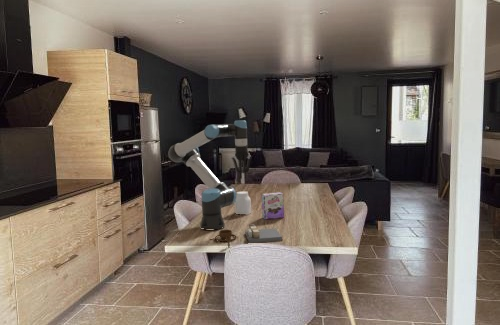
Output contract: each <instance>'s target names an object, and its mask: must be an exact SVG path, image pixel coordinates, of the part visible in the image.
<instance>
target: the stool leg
mask: <svg viewBox="0 0 500 325" xmlns="http://www.w3.org/2000/svg"><path fill="white" fill-rule="evenodd" d="M248 227H249V228H248V229H251V231H252V235H253V237H254V238H258V237H260V232H259V229H258V227H257V226H256V225H255V224H254V223H253V224H249V226H248Z"/></svg>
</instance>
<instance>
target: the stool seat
mask: <svg viewBox="0 0 500 325" xmlns="http://www.w3.org/2000/svg"><path fill="white" fill-rule="evenodd" d="M258 230H259V232H260V237H258V238H254V237H253V235H252V231H251V229H250V228H248V229H247V230H244V234H246V235H245V237H246V239H247V241H248V243H249V244H254V243H253V242H255V243H266V242H278V241H279V242H281V241H283V236H282V234H281V233H280V232H279V231H278V229H277V227H276V228H274V227H271V228H261V229H260V228H259V229H258Z"/></svg>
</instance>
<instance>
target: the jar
mask: <svg viewBox="0 0 500 325" xmlns="http://www.w3.org/2000/svg"><path fill="white" fill-rule="evenodd" d="M251 199H252V198H251V197H250V196H249V192H248V191H237V192H236V201H235V202H234V214H235V213H236V214H249V215H251V214H252V206H251V205H252V200H251ZM250 213H251V214H250ZM236 214H235V215H236Z"/></svg>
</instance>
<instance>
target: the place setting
mask: <svg viewBox="0 0 500 325" xmlns="http://www.w3.org/2000/svg"><path fill="white" fill-rule="evenodd" d="M218 233H219V234H218V235H215V236H214V237H215V238H214V239H216V237H217V236H220V237H219V238H220V239H219V238H217V239H216V240H218V241H227V242H226V243H227V248H231V244H230V243H231V242H233V241H232V240H234V241H235V240H236V239H237V235H236V234H233V231H232V230H231V229H220V231H219V232H218ZM231 236H235V238H234V237H233V238H232V237H231ZM223 239H226V240H223ZM216 240H215V241H216ZM218 241H217V242H218Z"/></svg>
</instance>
